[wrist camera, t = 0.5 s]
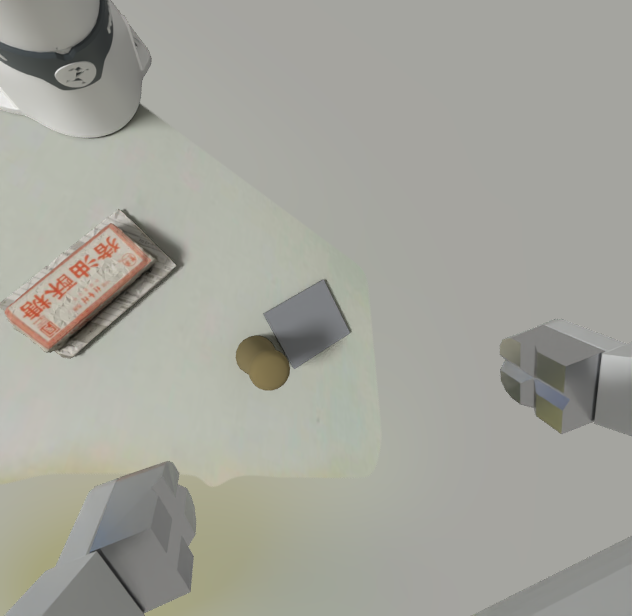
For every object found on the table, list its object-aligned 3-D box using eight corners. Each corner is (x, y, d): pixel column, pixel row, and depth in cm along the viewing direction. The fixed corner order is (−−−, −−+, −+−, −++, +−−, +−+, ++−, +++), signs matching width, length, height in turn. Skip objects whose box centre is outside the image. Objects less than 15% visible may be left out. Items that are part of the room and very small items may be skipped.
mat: (263, 313, 52) (263, 314, 51) (322, 279, 55) (323, 279, 54) (293, 368, 54) (294, 369, 53) (348, 332, 57) (350, 333, 56)
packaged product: (57, 368, 39) (-23, 307, 36) (71, 360, 44) (1, 305, 41) (176, 264, 43) (113, 201, 40) (178, 266, 48) (120, 209, 45)
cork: (280, 364, 53) (302, 384, 43) (244, 381, 51) (258, 405, 41) (267, 329, 52) (286, 340, 42) (229, 345, 50) (240, 361, 40)
